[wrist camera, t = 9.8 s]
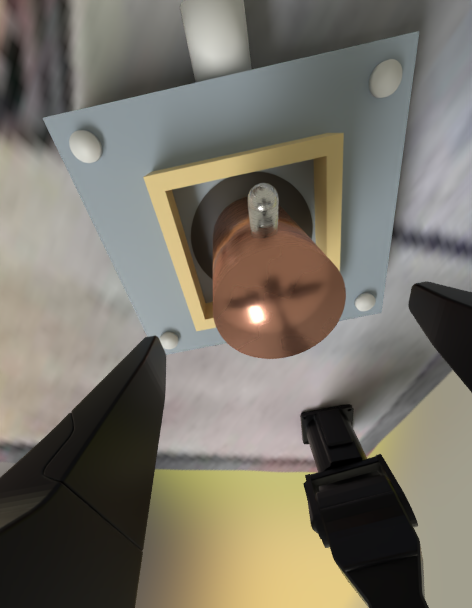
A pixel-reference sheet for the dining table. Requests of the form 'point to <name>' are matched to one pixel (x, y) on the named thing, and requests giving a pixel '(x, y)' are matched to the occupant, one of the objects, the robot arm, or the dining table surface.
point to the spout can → (271, 280)
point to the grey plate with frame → (243, 165)
